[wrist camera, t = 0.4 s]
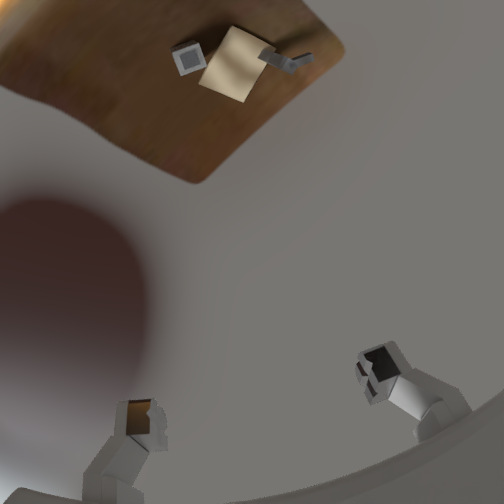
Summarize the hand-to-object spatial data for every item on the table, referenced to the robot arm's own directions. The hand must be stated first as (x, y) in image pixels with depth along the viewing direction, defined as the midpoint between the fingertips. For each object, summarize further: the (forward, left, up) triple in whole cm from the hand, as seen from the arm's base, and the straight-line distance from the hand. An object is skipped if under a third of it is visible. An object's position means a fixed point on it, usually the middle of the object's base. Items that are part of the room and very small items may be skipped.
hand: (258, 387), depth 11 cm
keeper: (-8, +10, -49) cm, 51 cm away
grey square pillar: (-6, 0, -49) cm, 50 cm away
